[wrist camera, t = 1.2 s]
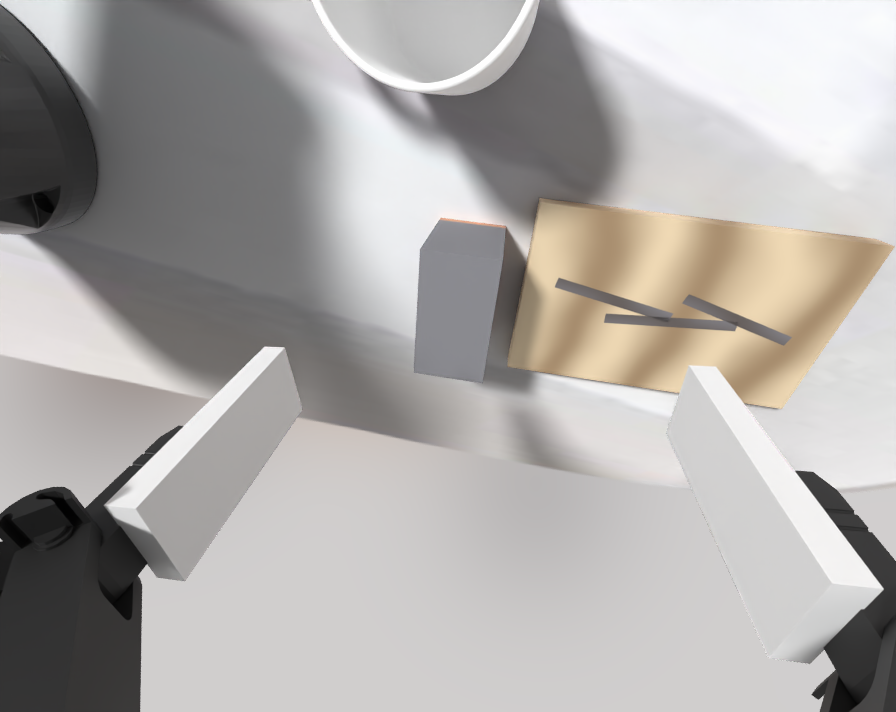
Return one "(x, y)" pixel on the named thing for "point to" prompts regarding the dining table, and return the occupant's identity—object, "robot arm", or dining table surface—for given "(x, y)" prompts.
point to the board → (683, 298)
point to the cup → (430, 40)
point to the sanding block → (457, 298)
